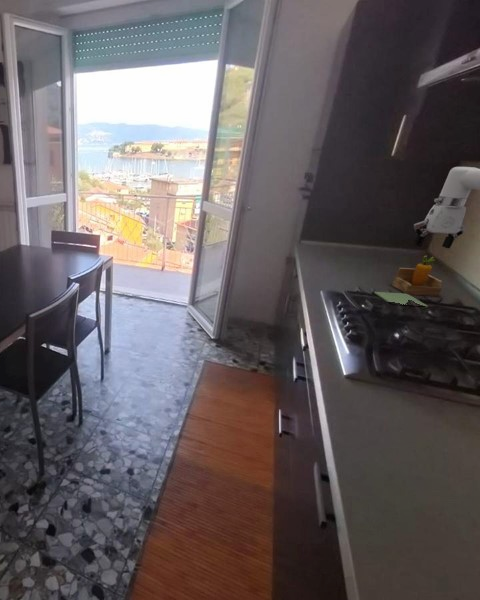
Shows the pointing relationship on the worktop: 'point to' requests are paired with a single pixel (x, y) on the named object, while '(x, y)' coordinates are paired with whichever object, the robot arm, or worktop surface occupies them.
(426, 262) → the carrot
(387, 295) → the mat
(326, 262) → the worktop surface
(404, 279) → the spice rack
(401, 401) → the worktop surface
